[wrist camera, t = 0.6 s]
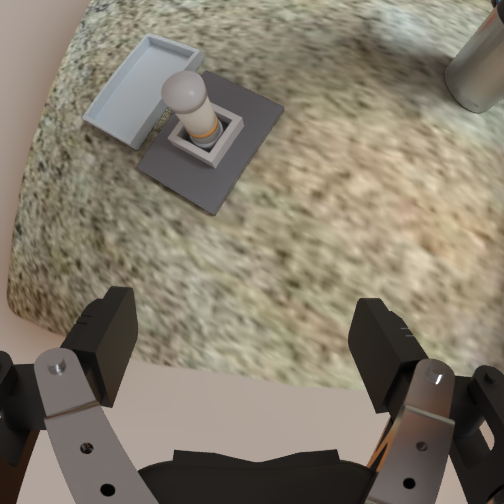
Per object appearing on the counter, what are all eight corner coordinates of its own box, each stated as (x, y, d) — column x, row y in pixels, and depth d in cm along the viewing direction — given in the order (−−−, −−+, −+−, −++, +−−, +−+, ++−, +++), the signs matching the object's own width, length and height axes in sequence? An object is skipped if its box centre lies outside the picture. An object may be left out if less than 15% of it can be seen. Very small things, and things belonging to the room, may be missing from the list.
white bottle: (204, 115, 38) (178, 65, 26) (230, 129, 38) (212, 79, 26) (186, 141, 38) (152, 97, 26) (212, 155, 38) (186, 113, 26)
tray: (153, 42, 40) (147, 32, 38) (204, 60, 40) (200, 50, 37) (90, 124, 41) (81, 118, 38) (137, 150, 40) (129, 144, 37)
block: (207, 75, 40) (201, 60, 36) (283, 111, 39) (284, 97, 35) (140, 170, 40) (128, 162, 36) (214, 215, 39) (208, 211, 35)
